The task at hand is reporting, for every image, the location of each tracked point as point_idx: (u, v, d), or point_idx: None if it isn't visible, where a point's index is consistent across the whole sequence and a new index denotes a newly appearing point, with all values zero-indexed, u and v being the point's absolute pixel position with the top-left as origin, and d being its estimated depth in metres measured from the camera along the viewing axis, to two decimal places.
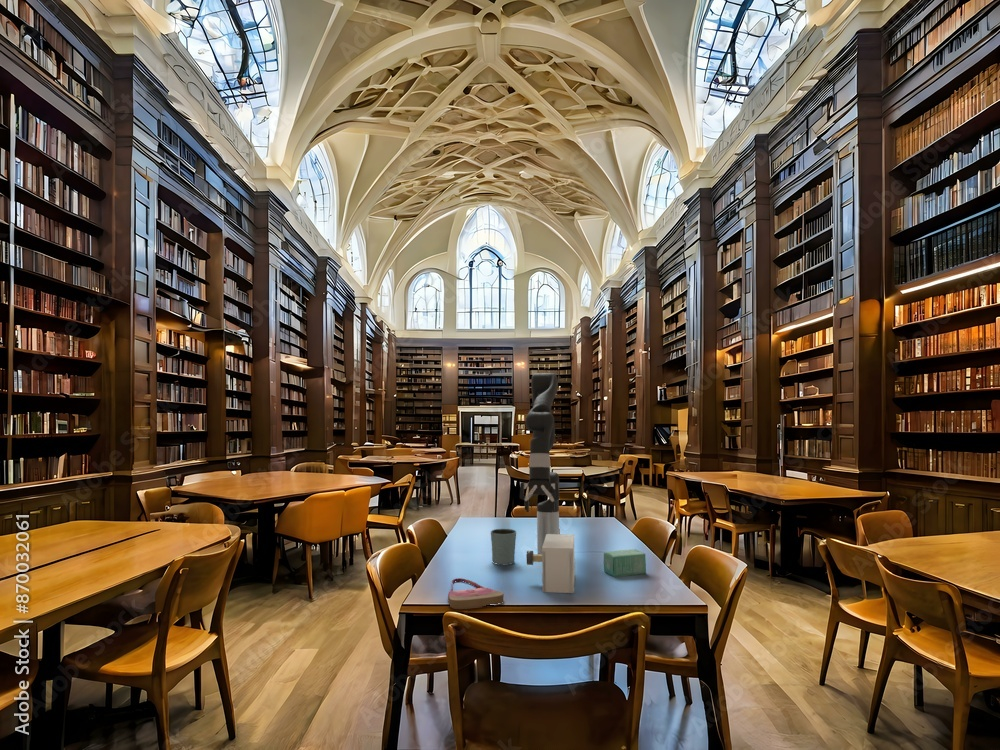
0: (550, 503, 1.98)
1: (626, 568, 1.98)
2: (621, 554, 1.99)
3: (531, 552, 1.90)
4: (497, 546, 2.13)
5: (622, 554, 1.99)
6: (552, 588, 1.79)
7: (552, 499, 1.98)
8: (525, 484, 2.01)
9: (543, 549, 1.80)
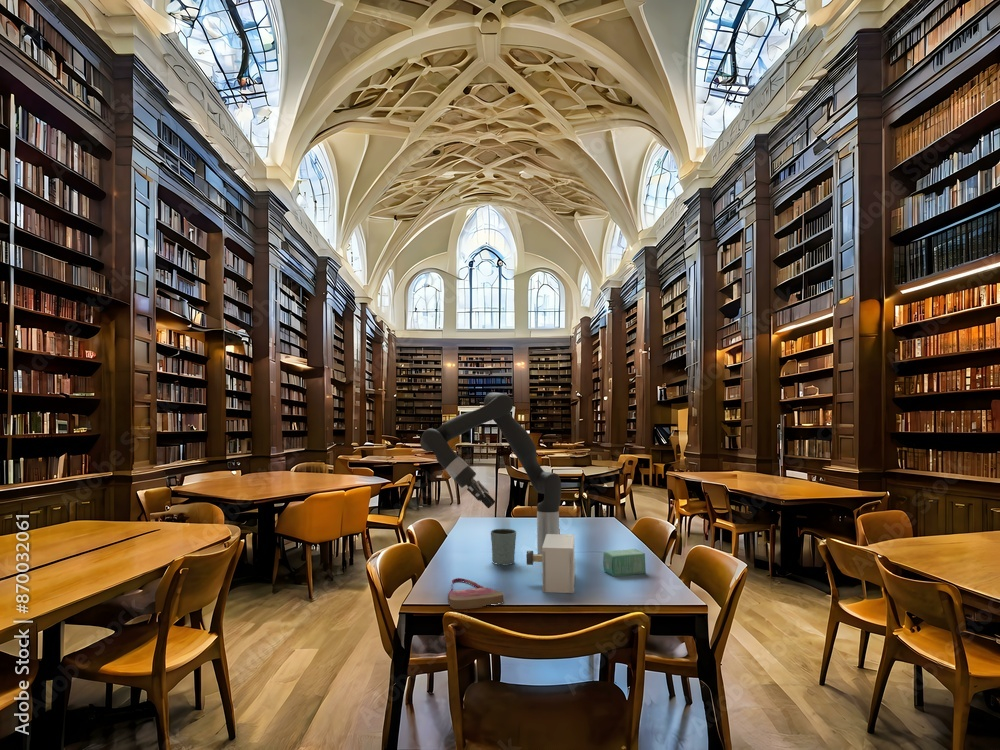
0: None
1: (625, 568, 1.98)
2: (620, 554, 2.00)
3: (531, 552, 1.90)
4: (497, 546, 2.13)
5: (621, 554, 2.00)
6: (552, 588, 1.79)
7: None
8: None
9: (543, 549, 1.80)
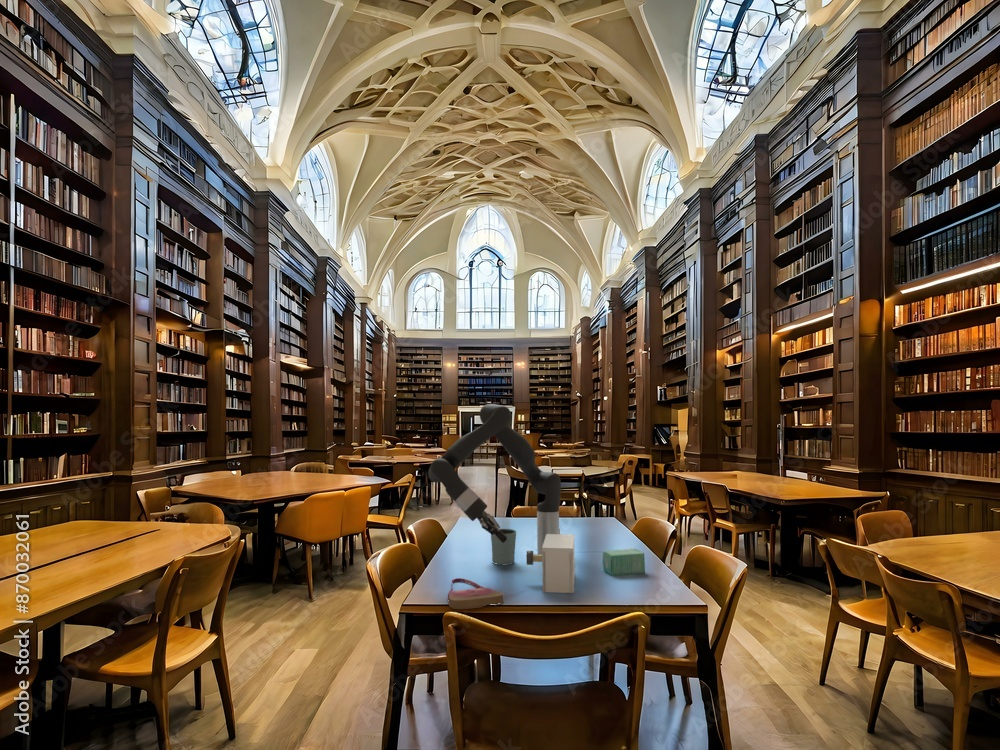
0: None
1: (624, 567, 1.99)
2: (620, 553, 2.00)
3: (531, 552, 1.90)
4: (497, 546, 2.13)
5: (621, 553, 2.00)
6: (552, 588, 1.79)
7: None
8: None
9: (543, 549, 1.80)
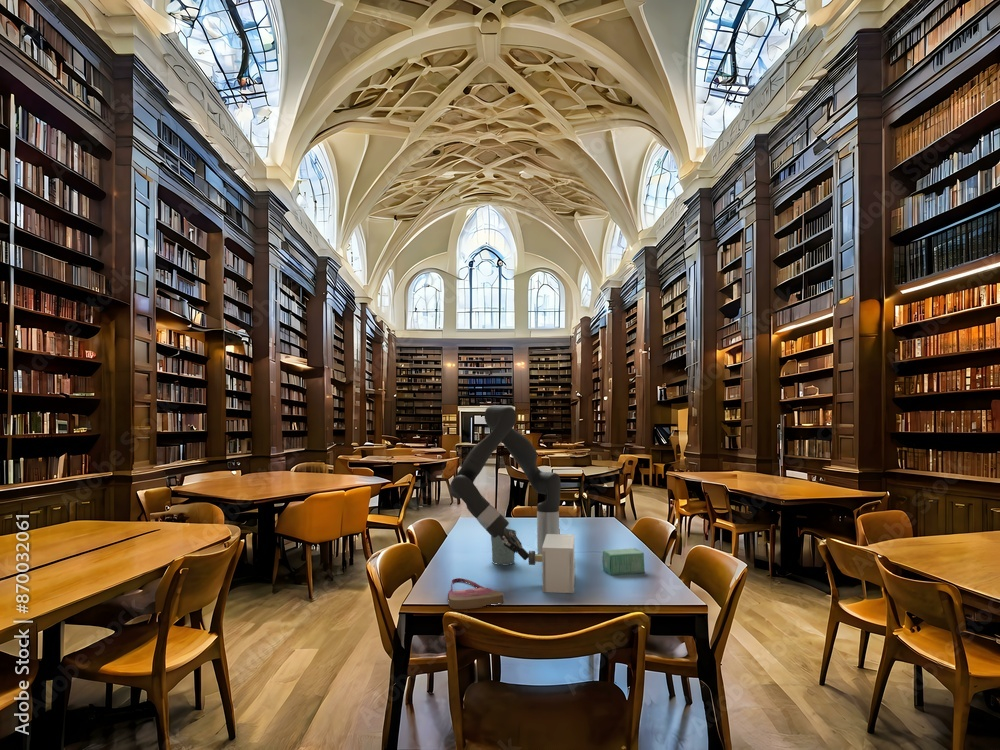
0: (518, 553, 1.92)
1: (623, 567, 1.99)
2: (619, 553, 2.01)
3: (533, 552, 1.90)
4: (497, 546, 2.13)
5: (620, 553, 2.01)
6: (552, 588, 1.79)
7: None
8: None
9: (543, 549, 1.80)
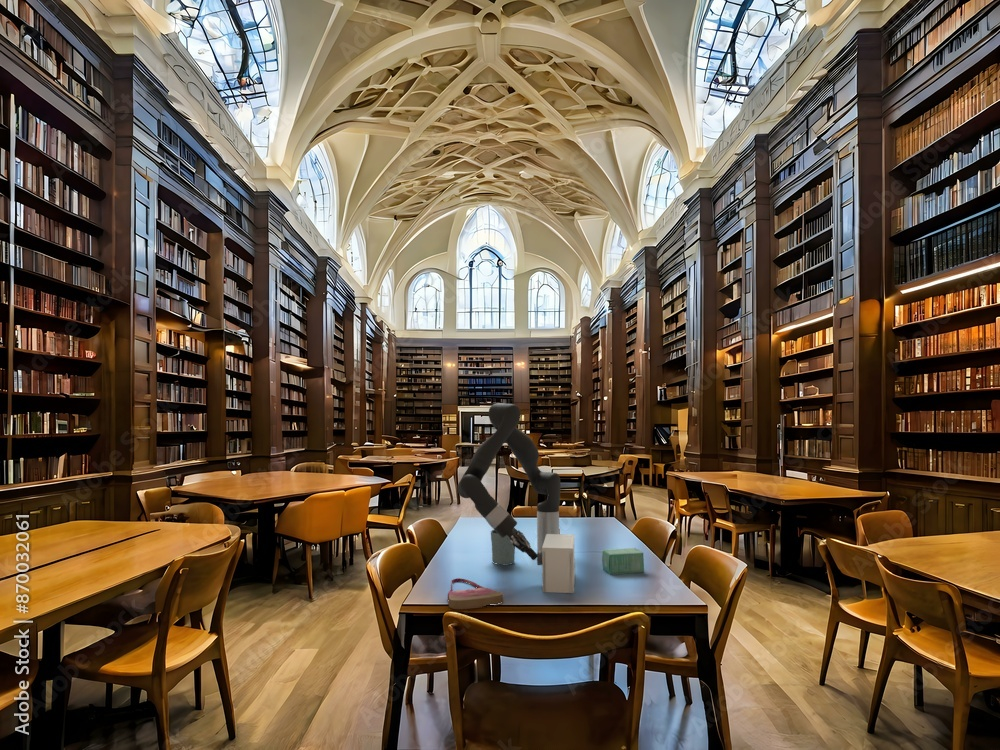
0: (527, 553, 1.91)
1: (622, 566, 2.00)
2: (618, 552, 2.02)
3: None
4: (497, 546, 2.13)
5: (619, 552, 2.02)
6: (552, 588, 1.79)
7: None
8: None
9: (543, 549, 1.80)
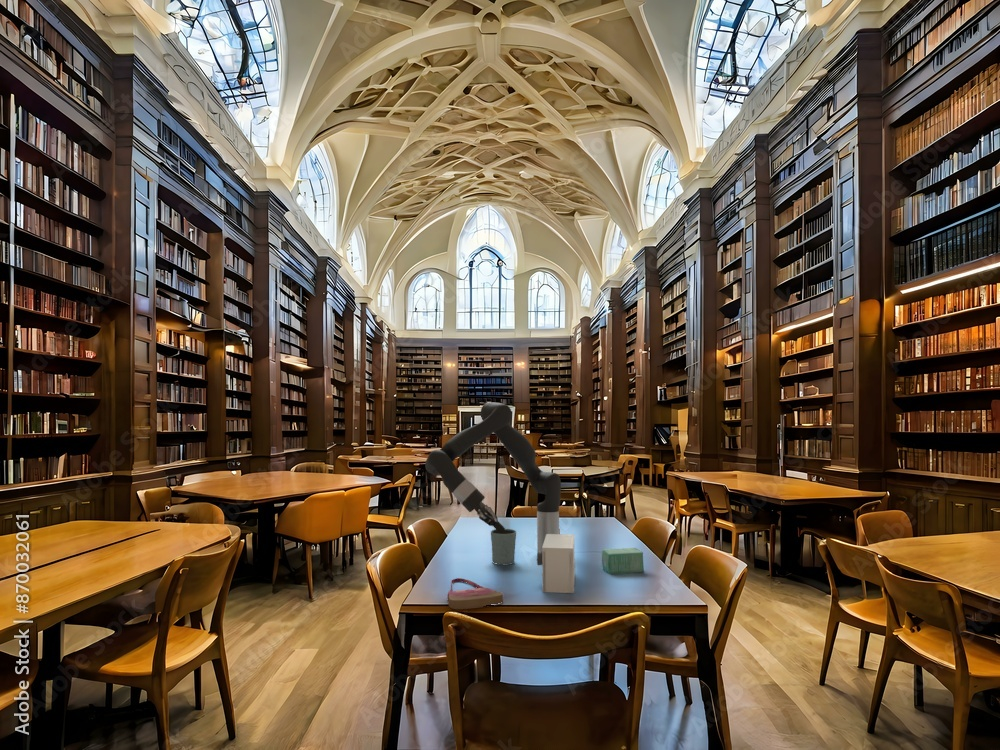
0: None
1: (622, 566, 2.01)
2: (618, 552, 2.02)
3: None
4: (497, 546, 2.13)
5: (619, 552, 2.02)
6: (552, 588, 1.79)
7: None
8: None
9: (543, 549, 1.80)
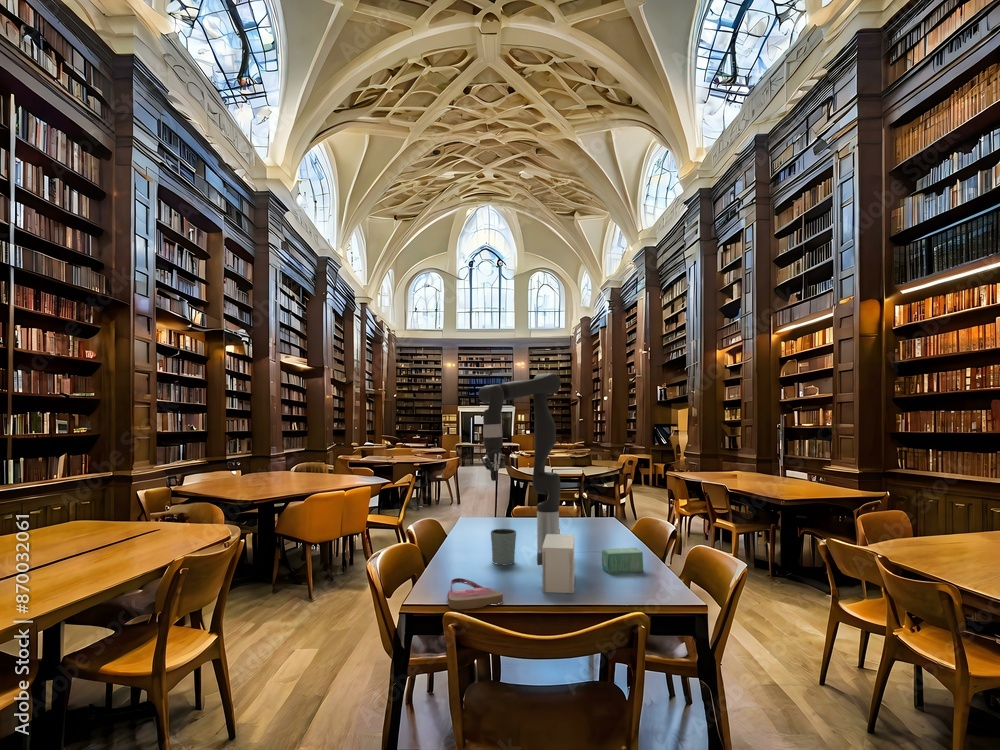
0: None
1: (621, 566, 2.01)
2: (617, 552, 2.03)
3: None
4: (497, 546, 2.13)
5: (618, 552, 2.03)
6: (552, 588, 1.79)
7: None
8: None
9: (543, 549, 1.80)
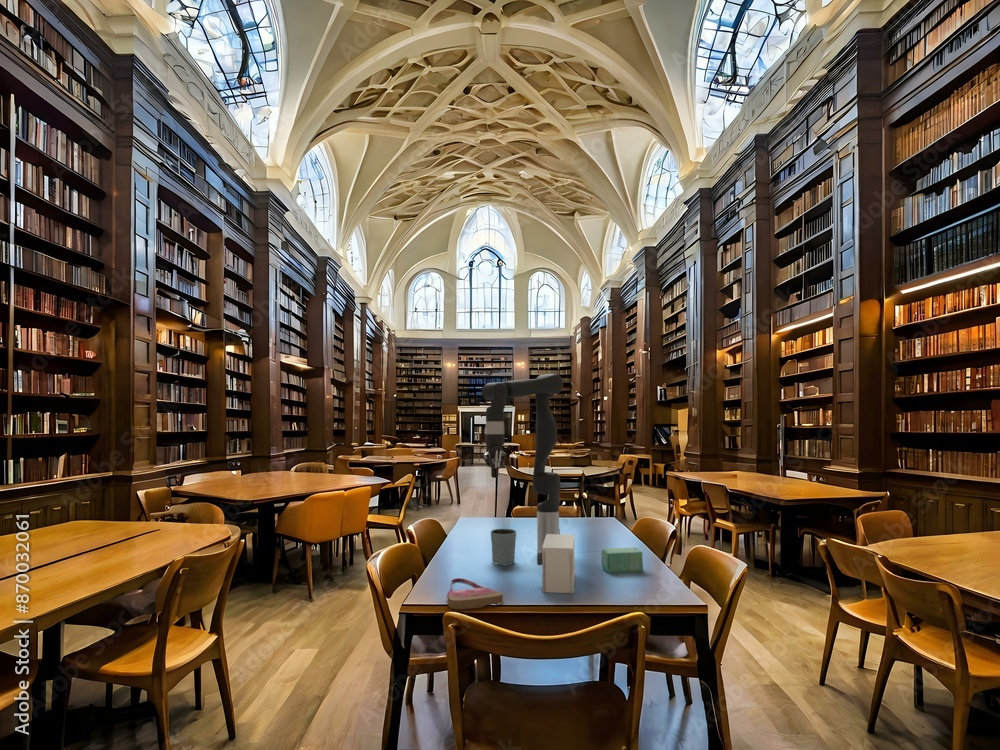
0: None
1: (621, 565, 2.02)
2: (617, 551, 2.03)
3: None
4: (497, 546, 2.13)
5: (618, 551, 2.03)
6: (552, 588, 1.79)
7: None
8: None
9: (543, 549, 1.80)
